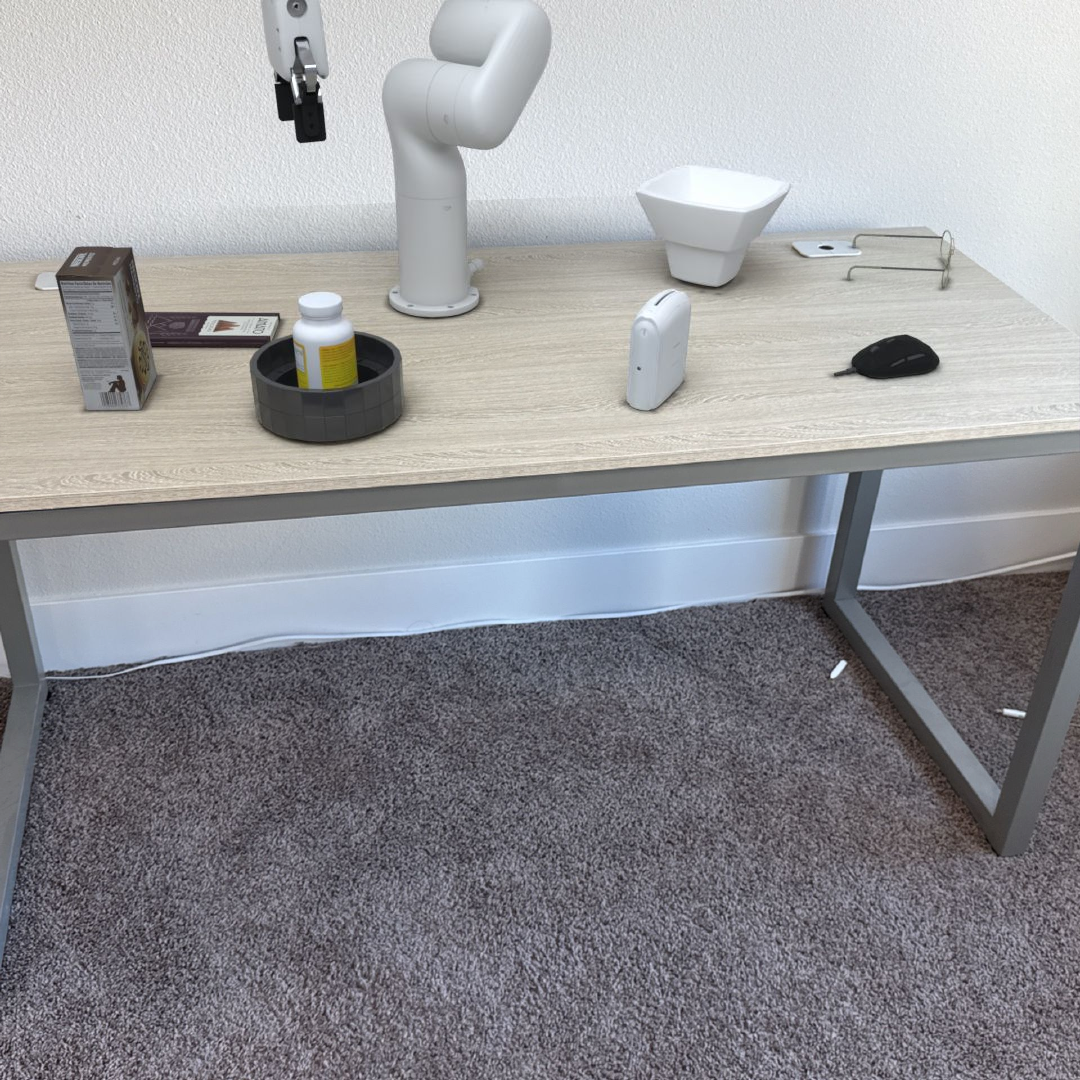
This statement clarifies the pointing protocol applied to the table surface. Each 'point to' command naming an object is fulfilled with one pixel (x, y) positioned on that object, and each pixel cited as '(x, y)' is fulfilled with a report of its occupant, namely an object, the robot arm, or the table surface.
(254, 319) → the chocolate bar
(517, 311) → the table surface
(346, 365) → the supplement bottle
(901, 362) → the gaming mouse
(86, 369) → the coffee box
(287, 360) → the black bowl
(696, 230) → the bowl
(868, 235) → the eyeglasses
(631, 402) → the photo printer
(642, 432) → the table surface
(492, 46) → the robot arm
